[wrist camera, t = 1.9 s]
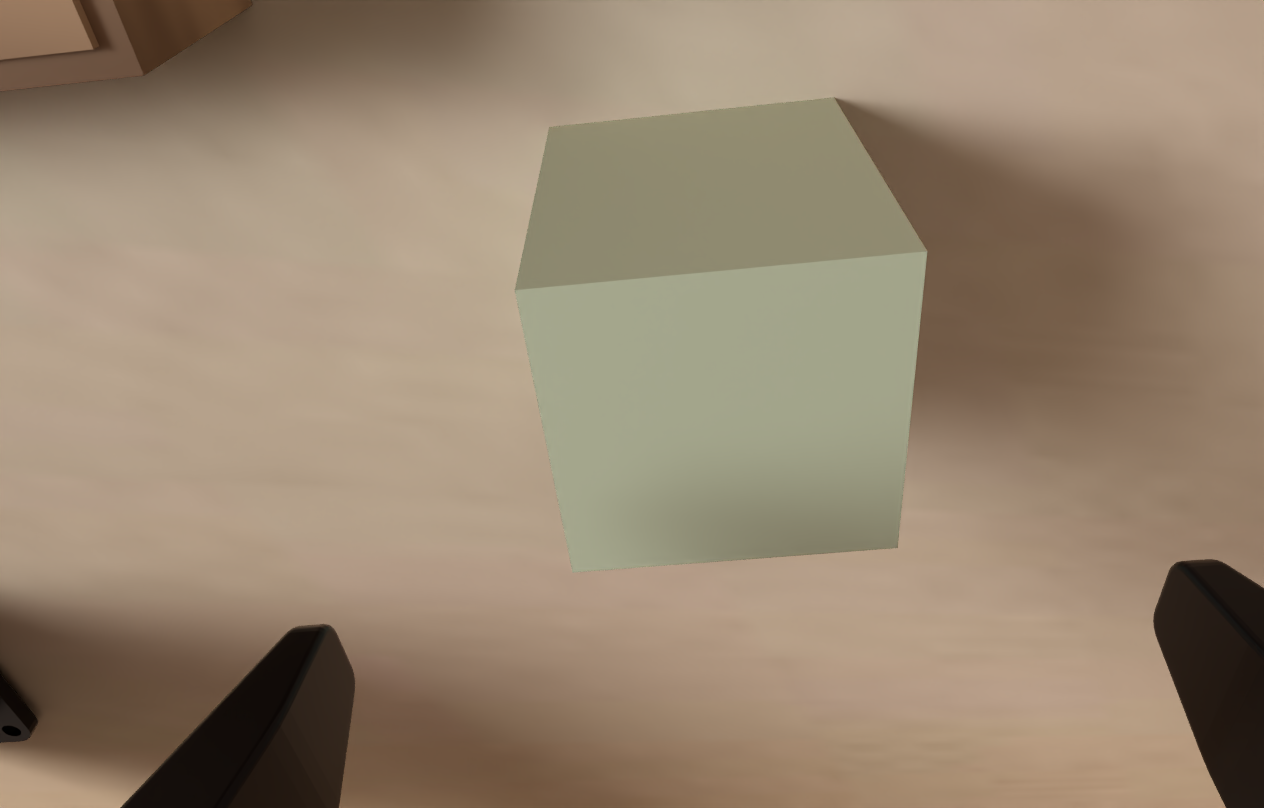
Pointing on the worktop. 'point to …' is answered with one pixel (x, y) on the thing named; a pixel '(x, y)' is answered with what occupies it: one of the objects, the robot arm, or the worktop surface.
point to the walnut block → (99, 37)
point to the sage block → (721, 336)
